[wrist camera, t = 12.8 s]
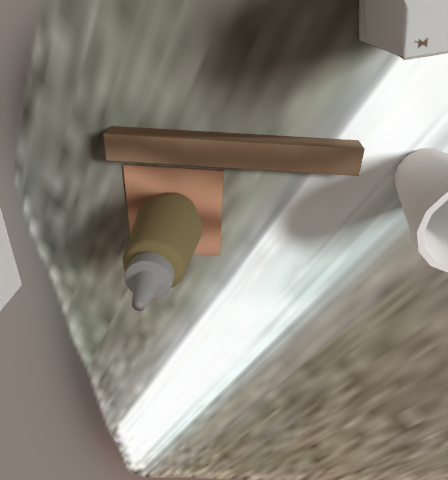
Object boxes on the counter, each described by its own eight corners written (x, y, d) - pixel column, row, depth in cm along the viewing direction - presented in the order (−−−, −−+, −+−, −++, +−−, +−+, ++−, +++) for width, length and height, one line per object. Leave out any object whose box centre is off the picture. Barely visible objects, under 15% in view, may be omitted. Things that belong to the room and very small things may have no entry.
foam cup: (364, 193, 49) (395, 252, 38) (410, 121, 44) (461, 164, 33) (433, 221, 50) (483, 286, 39) (484, 153, 45) (558, 205, 34)
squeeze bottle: (201, 245, 54) (177, 345, 39) (140, 233, 54) (92, 329, 38) (210, 190, 50) (189, 278, 34) (145, 177, 49) (94, 260, 34)
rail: (111, 126, 47) (103, 133, 44) (358, 140, 46) (364, 149, 43) (124, 247, 55) (118, 259, 53) (332, 262, 54) (336, 275, 52)
